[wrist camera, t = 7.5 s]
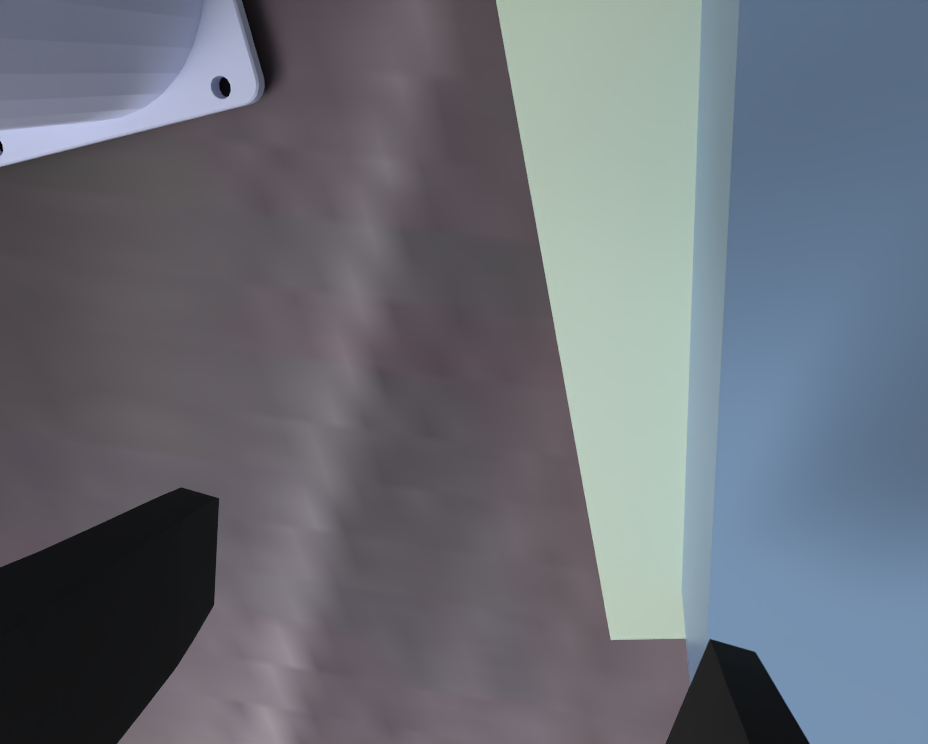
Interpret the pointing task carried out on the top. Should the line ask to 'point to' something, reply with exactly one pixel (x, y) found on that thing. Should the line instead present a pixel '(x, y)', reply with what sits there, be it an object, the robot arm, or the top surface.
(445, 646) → the top surface
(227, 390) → the top surface
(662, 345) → the board
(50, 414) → the top surface
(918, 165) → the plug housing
